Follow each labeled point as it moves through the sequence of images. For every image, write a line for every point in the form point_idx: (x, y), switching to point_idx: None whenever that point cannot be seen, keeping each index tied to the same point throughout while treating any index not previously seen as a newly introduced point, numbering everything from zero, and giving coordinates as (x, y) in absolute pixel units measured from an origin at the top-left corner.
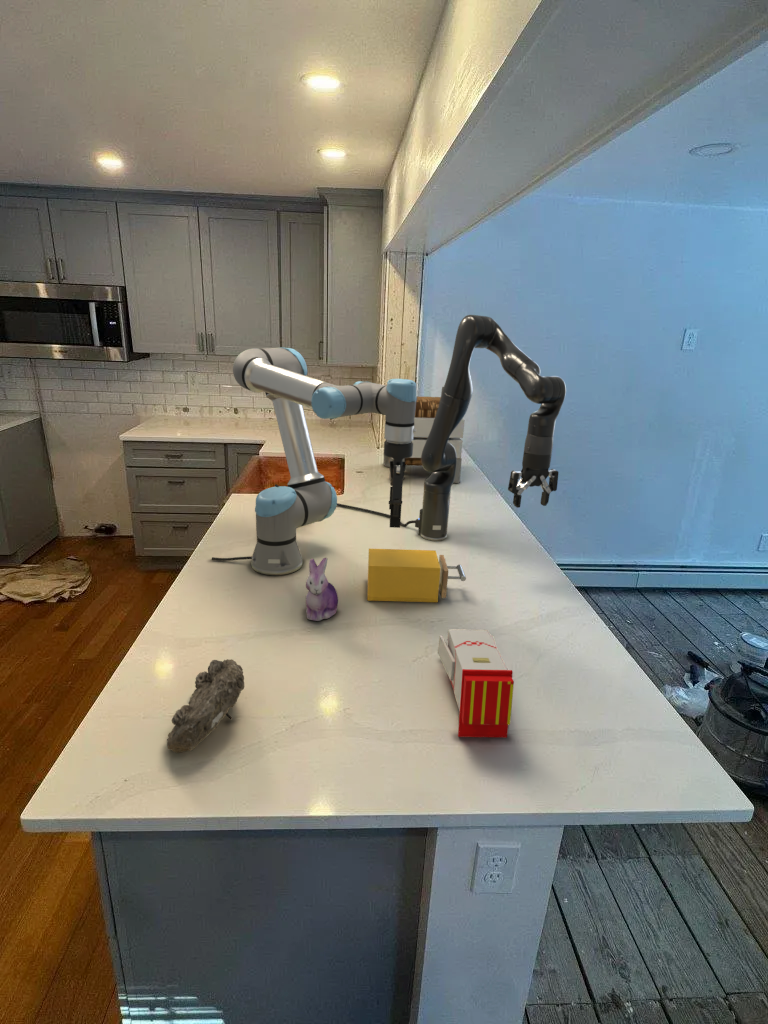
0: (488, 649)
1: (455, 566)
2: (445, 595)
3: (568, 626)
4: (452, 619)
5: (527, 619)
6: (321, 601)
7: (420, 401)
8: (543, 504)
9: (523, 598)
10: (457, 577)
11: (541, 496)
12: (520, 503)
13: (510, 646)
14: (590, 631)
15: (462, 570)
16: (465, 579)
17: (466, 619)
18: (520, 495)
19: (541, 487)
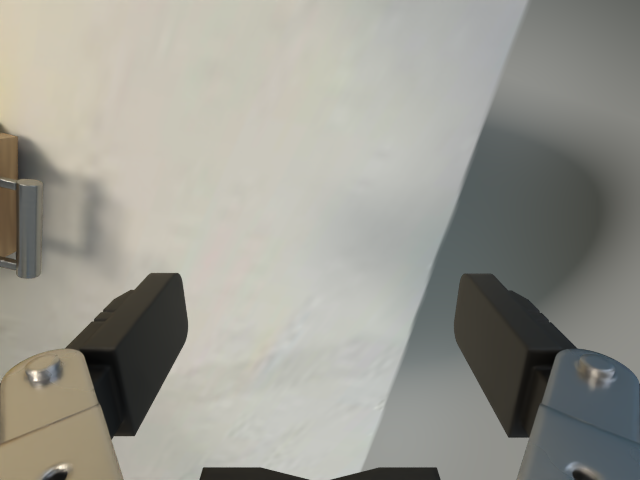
0: None
1: (9, 183)
2: (9, 253)
3: (311, 407)
4: (31, 330)
5: (227, 365)
6: None
7: None
8: (458, 325)
9: (269, 275)
10: (5, 267)
11: (496, 311)
12: (172, 364)
13: (142, 440)
14: (348, 430)
15: (26, 233)
16: (38, 274)
17: (69, 337)
18: (118, 433)
19: (544, 398)
